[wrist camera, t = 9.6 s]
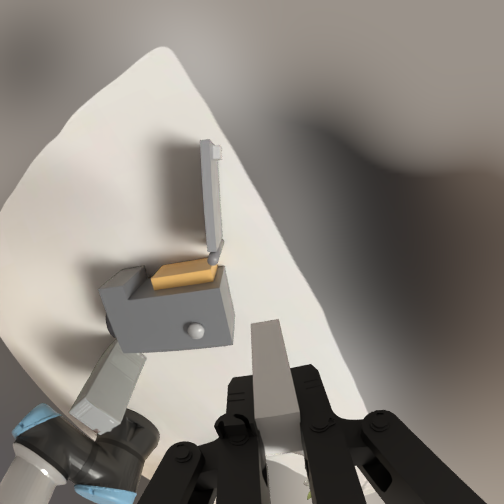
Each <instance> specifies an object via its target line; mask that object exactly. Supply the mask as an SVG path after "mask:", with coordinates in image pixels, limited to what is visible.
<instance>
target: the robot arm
mask: <svg viewBox="0 0 504 504" xmlns="http://www.w3.org/2000/svg"><path fill="white" fill-rule="evenodd" d="M251 344H252V368H253V375H249V376H242V377H234V378H233V379H232V380H231V382H230V383H229V385H228V396H227V409H226V414H224V415H222V416H220V417H219V418H218V420H217V421H216V423H215V425H214V427H215V429H216V432H217V434H218V436H219V438H218V439H216V440H215V441H212V442H210V443H207V444H203V445H200V446H197V445H196V444H194V443H191V442H179V443H175V444H174V445H172V446H171V447H170V448H169V449H168V450H167V452H166V453H165V455H164V457H163V459H162V461H161V462H160V464H159V466H158V468H157V470H156V471H155V473H154V475H153V477H152V479H151V480H150V482H149V484H148V486H147V487H146V489H145V491H144V493H143V494H142V496H141V498H140V500H139V502H138V503H137V504H213V503H214V501H215V498H216V504H271V502H270V490H269V478H268V467H267V464H266V457H265V454H266V456H271V455H278V454H285V453H291V452H297V451H302V450H303V452H304V459H305V469H306V471H307V476H308V482H309V487H310V492H311V498H312V503H313V504H366V501H365V497H364V494H363V491H362V488H361V485H360V482H359V479H358V475H357V472H356V469H355V466H357V467H358V468H359V469H360V471H361V472H362V473H363V475H364V476H365V477H366V479H367V480H368V481H369V483H370V484H371V485H372V487H373V488H374V489H375V491H376V492H377V493H378V494H379V496H380V497H381V499H382V500H383V501H384V502H385V504H487V503H485V502H484V501H483V500H482V499H481V498H480V497H479V496H478V495H477V494H476V493H475V492H474V491H473V490H472V489H471V488H470V487H468V486H467V485H466V484H465V483H464V482H463V481H462V480H461V479H460V478H459V477H458V476H457V475H456V474H455V473H454V472H453V471H452V470H451V469H450V468H449V467H448V466H447V465H445V464H444V463H443V462H442V461H441V460H440V459H439V458H438V457H437V456H436V455H435V454H434V453H433V452H432V451H431V450H430V449H429V448H428V447H427V446H426V445H425V444H424V443H423V442H422V441H421V440H420V439H419V438H418V437H417V436H416V435H415V434H414V433H413V432H412V431H411V430H410V429H408V427H407V426H406V425H405V424H404V423H403V422H402V421H401V420H400V419H399V418H398V417H397V416H396V415H395V414H393V413H391V412H390V411H386V410H376V411H374V412H371V413H369V414H368V415H367V416H365V418H364V419H362V420H347V419H343V418H340V417H338V416H337V415H336V414H335V413H333V411H332V409H331V406H330V403H329V400H328V397H327V394H326V392H325V389H324V386H323V383H322V380H321V377H320V375H319V372H318V370H317V369H316V368H315V367H314V366H313V365H311V364H309V365H304V366H299V367H294V368H290V366H289V362H288V357H287V353H286V348H285V344H284V340H283V335H282V331H281V327H280V322H279V319H276V320H271V321H265V322H259V323H252V324H251ZM12 435H13V436H14V438H15V439H16V441H15V442H14V444H13V448H14V451H15V454H16V457H15V458H14V460H13V462H12V464H11V465H10V467H9V469H8V471H7V473H6V474H5V476H4V478H3V480H2V482H1V483H0V504H48V503H49V500H50V498H51V495H52V493H53V491H54V488H55V486H57V485H63V484H66V482H67V480H68V479H69V480H70V481H72V482H73V483H75V485H74V487H75V488H74V489H75V491H76V492H77V493H78V494H80V495H81V496H83V497H85V498H87V499H89V500H91V501H93V502H96V503H98V504H133V501H134V498H135V496H136V494H137V493H136V492H137V488H138V484H139V480H140V477H141V473H142V469H143V466H144V462H145V460H146V459H147V457H148V456H149V455H150V454H151V452H152V451H153V450H154V449H155V448H156V447H157V445H158V442H159V438H160V434H159V432H158V430H157V428H156V427H155V426H154V425H153V424H152V423H151V422H150V421H149V420H147V419H146V418H145V417H143V416H141V415H140V414H138V413H136V412H134V411H131V410H129V409H126V411H125V413H124V416H123V419H122V421H121V423H120V424H119V425H117V426H116V427H114V428H112V430H111V431H109V432H108V431H107V432H105V433H103V434H101V435H99V434H98V433H97V438H96V441H95V442H94V441H93V440H91V439H90V438H89V437H87V436H86V435H85V434H83V433H82V432H81V431H79V430H78V429H77V428H75V427H74V426H73V425H72V424H71V423H69V422H68V421H67V420H66V419H65V418H63V417H62V415H61V414H58V413H57V412H56V411H55V410H54V409H52V408H51V407H50V406H49V405H47V404H44V403H42V404H39V405H38V406H36V407H35V408H34V409H33V410H32V411H31V412H30V413H28V414H27V415H26V416H25V417H24V418H23V419H22V421H21V422H20V423H19V424H18V425H17V426H16V427H15V428H14V429H13V431H12Z"/></svg>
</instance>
